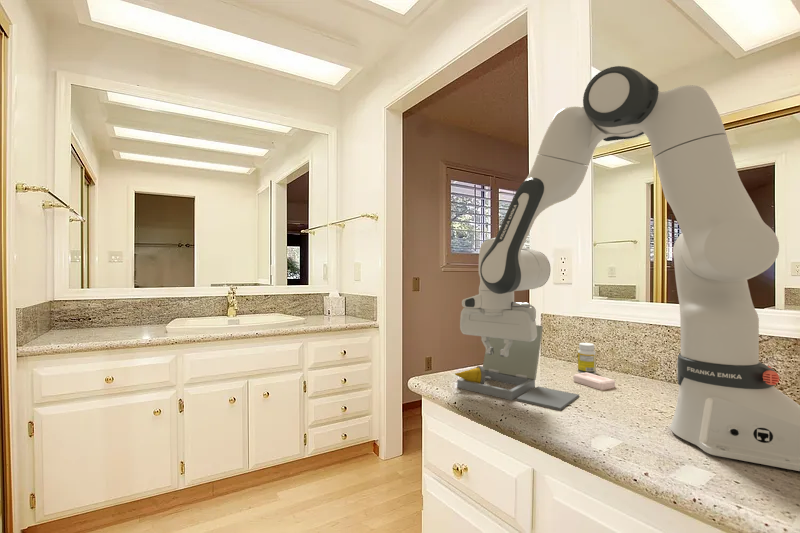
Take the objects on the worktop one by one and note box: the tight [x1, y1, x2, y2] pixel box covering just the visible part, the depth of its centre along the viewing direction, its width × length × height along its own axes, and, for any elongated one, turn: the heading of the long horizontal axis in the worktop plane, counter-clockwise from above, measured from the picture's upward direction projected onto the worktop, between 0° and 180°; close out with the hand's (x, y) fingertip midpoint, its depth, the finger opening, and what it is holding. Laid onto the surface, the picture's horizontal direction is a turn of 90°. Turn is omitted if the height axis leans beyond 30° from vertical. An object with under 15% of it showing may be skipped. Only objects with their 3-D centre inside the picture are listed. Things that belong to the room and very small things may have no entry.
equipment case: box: [456, 324, 544, 401], centre depth 107 cm, size 15×20×15 cm
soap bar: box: [572, 372, 616, 391], centre depth 106 cm, size 5×9×2 cm, turn 24°
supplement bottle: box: [577, 342, 597, 375], centre depth 118 cm, size 5×5×8 cm
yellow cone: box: [454, 365, 491, 384], centre depth 104 cm, size 5×5×10 cm
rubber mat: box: [516, 386, 580, 411], centre depth 95 cm, size 10×12×1 cm
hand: (497, 355), depth 104 cm, fingers open, 3 cm apart
